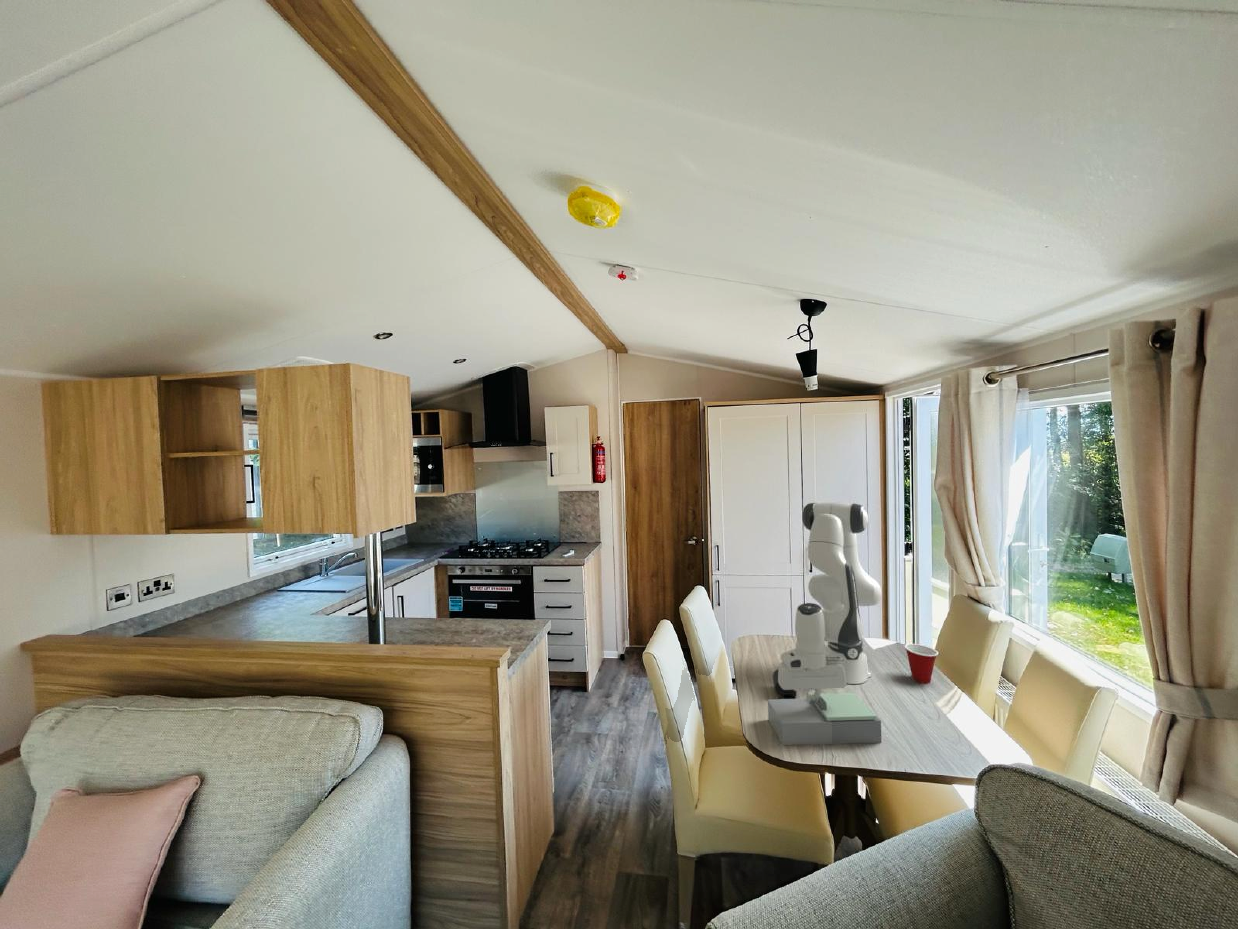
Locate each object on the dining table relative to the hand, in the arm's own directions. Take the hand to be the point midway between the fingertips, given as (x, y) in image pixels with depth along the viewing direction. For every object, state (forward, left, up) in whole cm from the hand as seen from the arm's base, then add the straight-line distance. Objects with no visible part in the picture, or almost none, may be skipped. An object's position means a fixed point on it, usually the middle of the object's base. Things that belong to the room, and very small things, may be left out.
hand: (812, 701), depth 154 cm
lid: (0, +9, -2) cm, 9 cm away
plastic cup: (-32, +53, -9) cm, 63 cm away
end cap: (-25, -1, -9) cm, 27 cm away
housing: (0, +3, -9) cm, 9 cm away
